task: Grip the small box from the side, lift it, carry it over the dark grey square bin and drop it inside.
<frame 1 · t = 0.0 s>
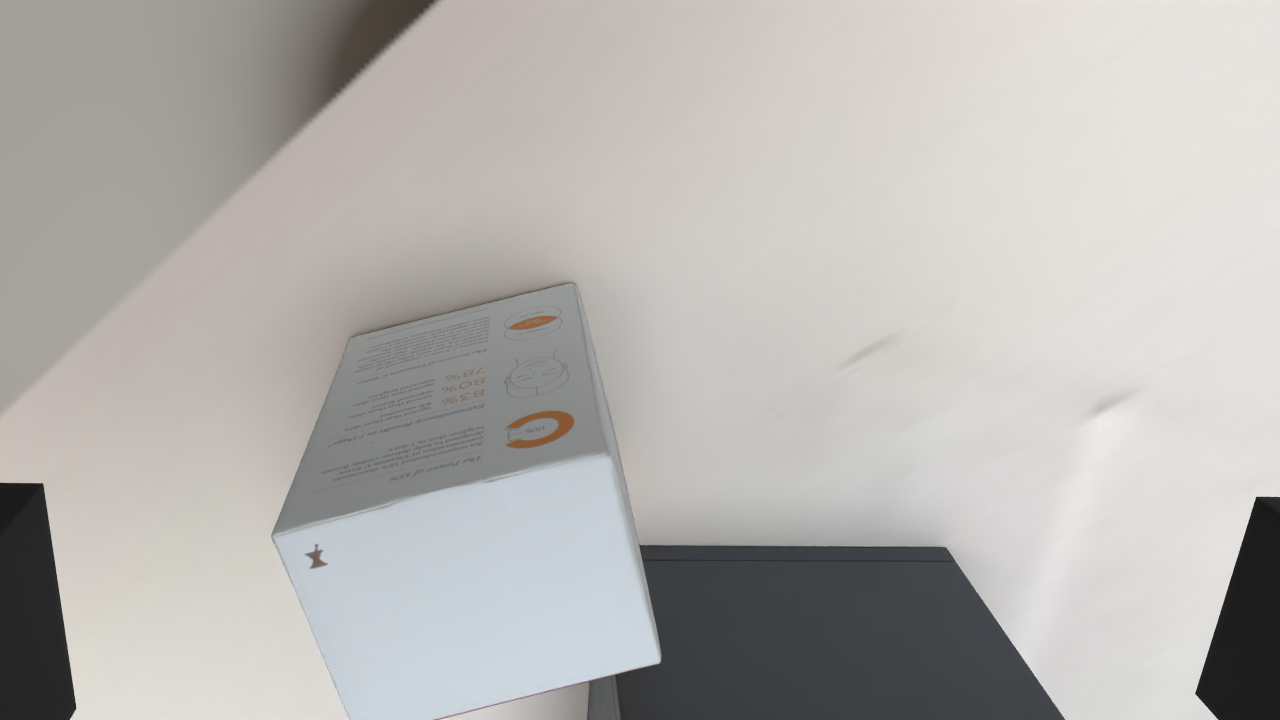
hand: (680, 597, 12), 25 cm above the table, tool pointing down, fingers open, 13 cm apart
dark grey square bin: (756, 692, 44), on the table
small box: (488, 387, 38), on the table
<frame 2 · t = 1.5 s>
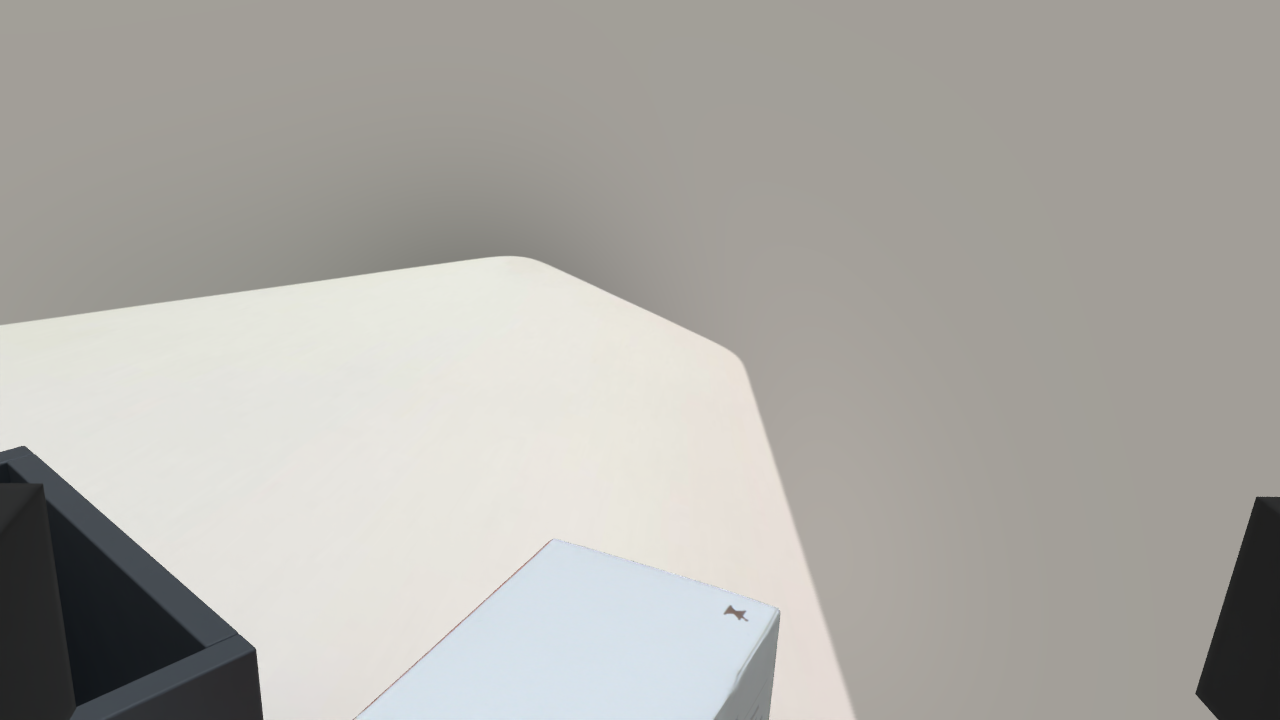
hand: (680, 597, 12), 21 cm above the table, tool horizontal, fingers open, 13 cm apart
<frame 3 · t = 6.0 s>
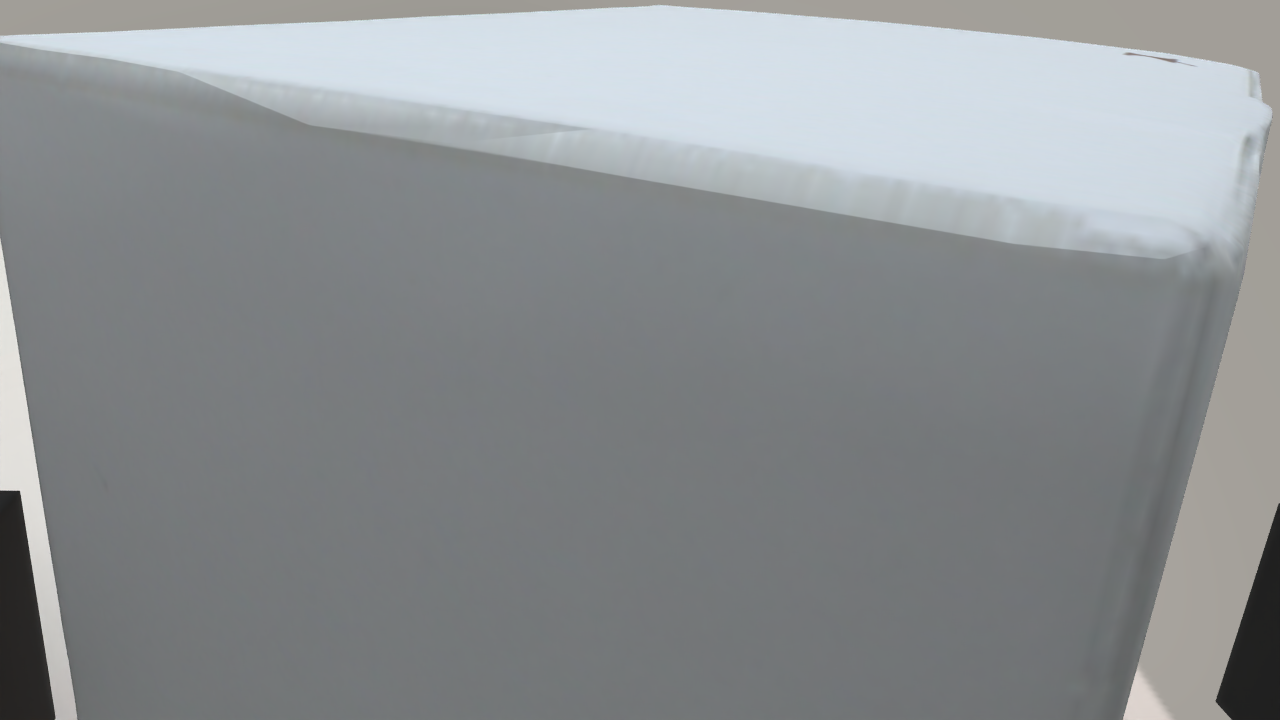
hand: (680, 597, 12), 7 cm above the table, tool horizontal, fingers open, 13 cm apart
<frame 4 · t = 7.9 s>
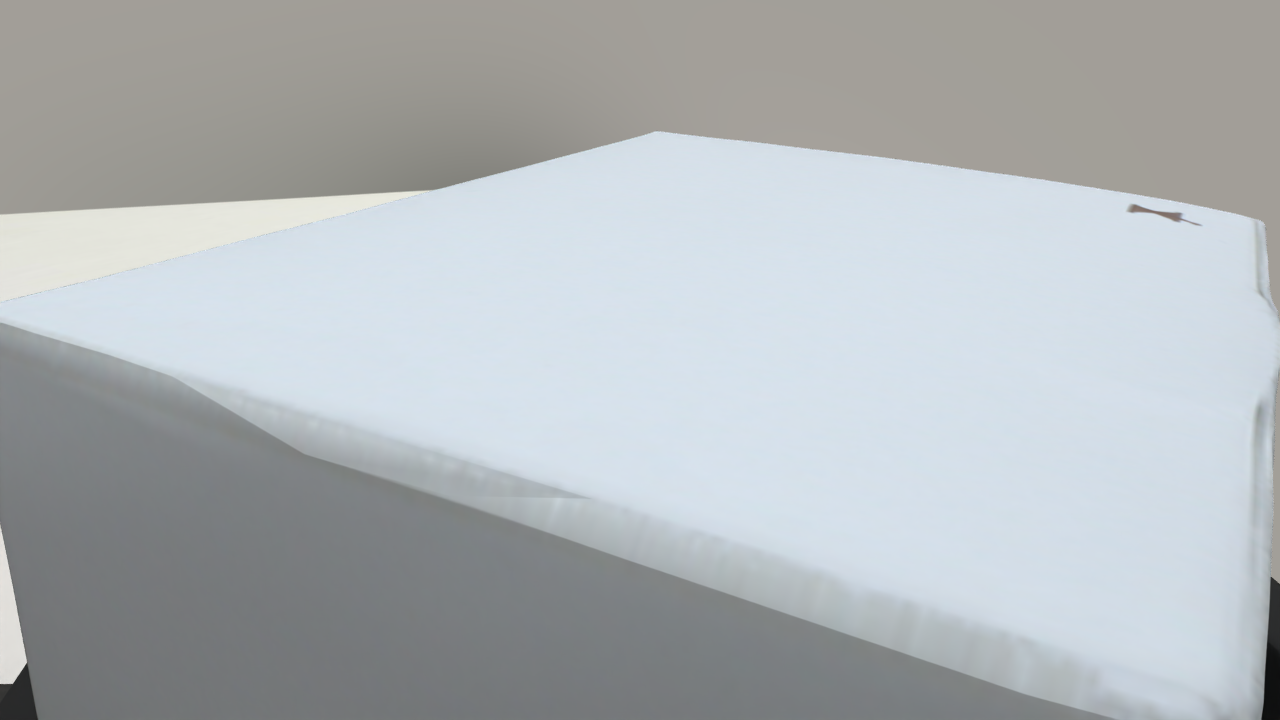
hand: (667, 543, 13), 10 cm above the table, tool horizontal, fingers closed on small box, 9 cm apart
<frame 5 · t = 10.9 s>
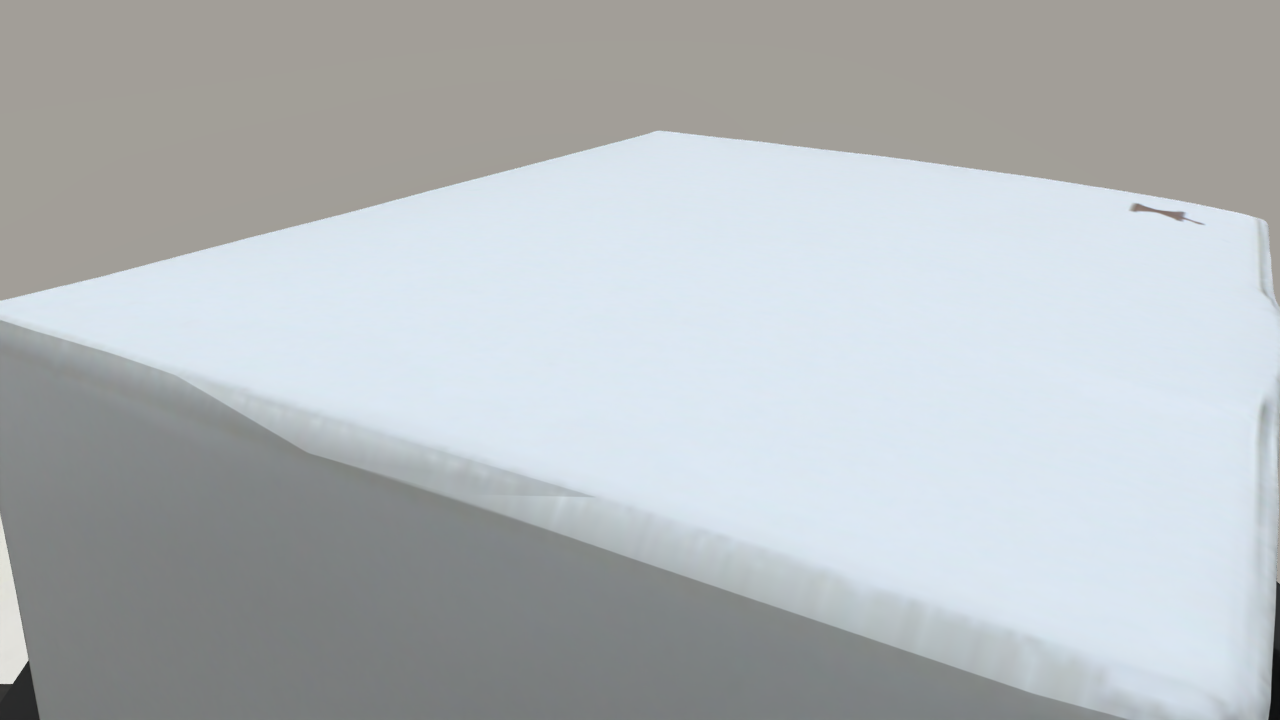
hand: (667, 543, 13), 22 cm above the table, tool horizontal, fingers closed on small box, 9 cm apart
when the fingers open (18 cm above the table, at t = 13.8 s): small box drops 9 cm, resting on dark grey square bin.
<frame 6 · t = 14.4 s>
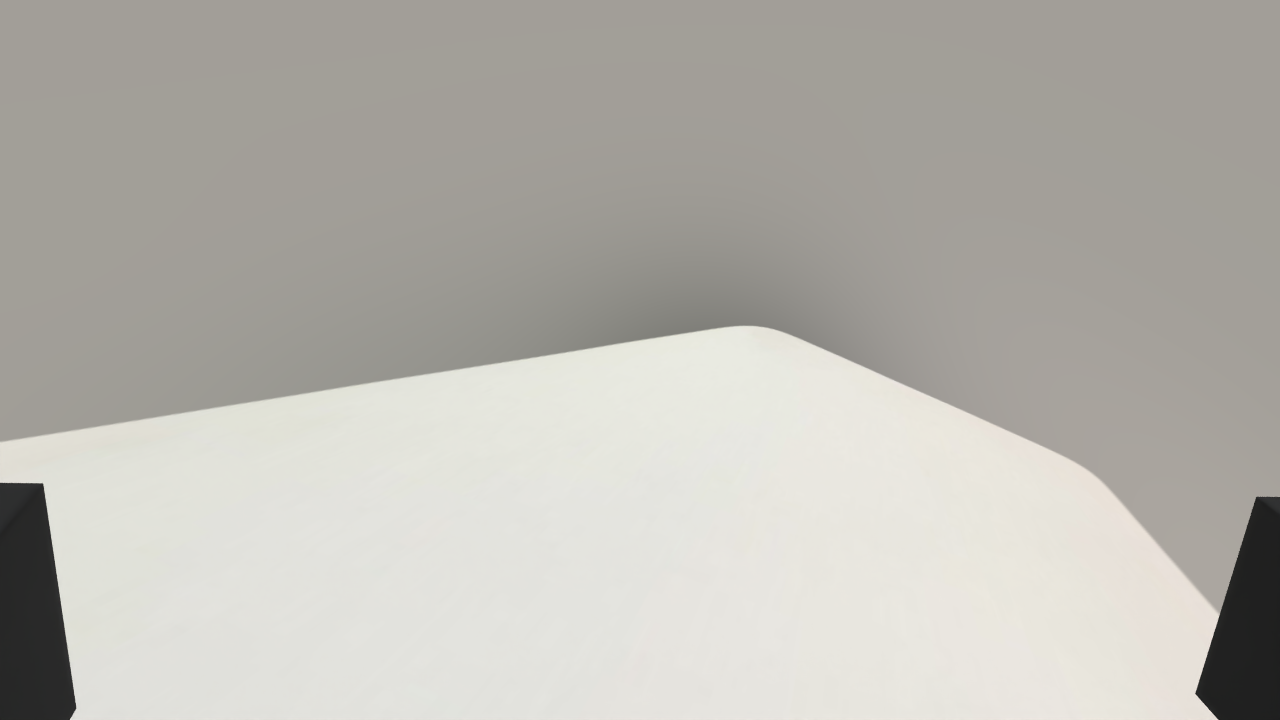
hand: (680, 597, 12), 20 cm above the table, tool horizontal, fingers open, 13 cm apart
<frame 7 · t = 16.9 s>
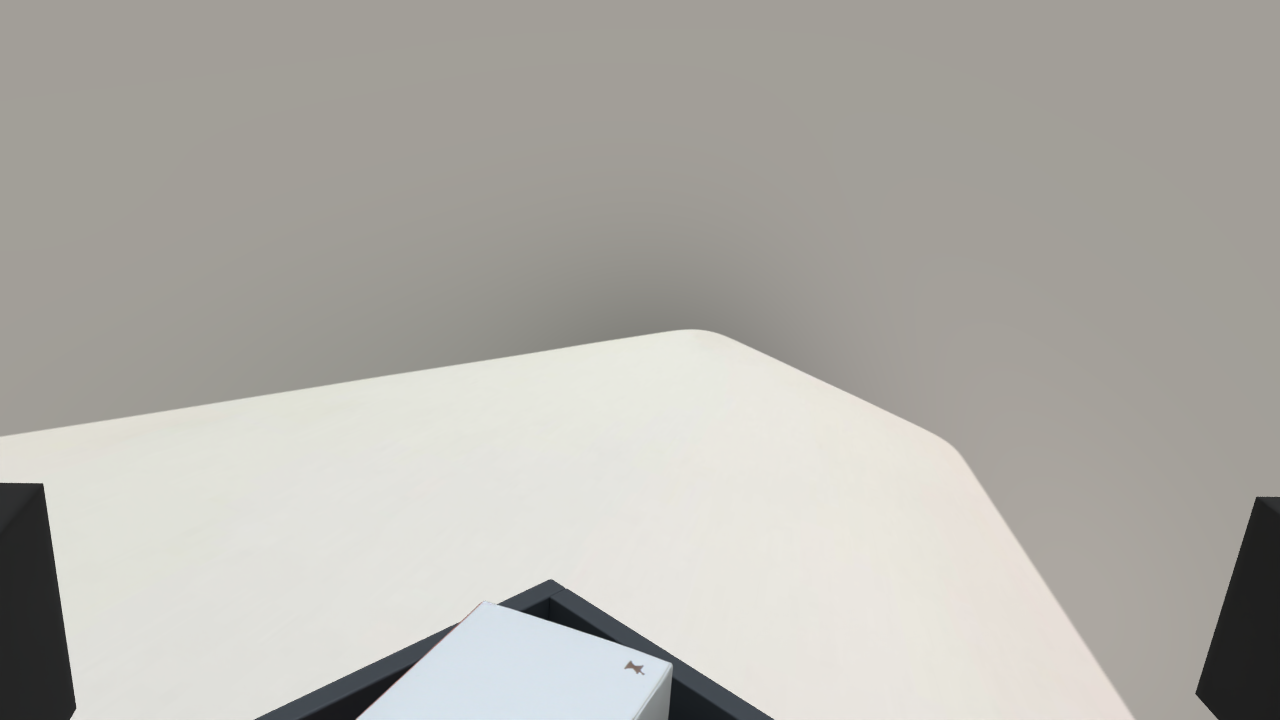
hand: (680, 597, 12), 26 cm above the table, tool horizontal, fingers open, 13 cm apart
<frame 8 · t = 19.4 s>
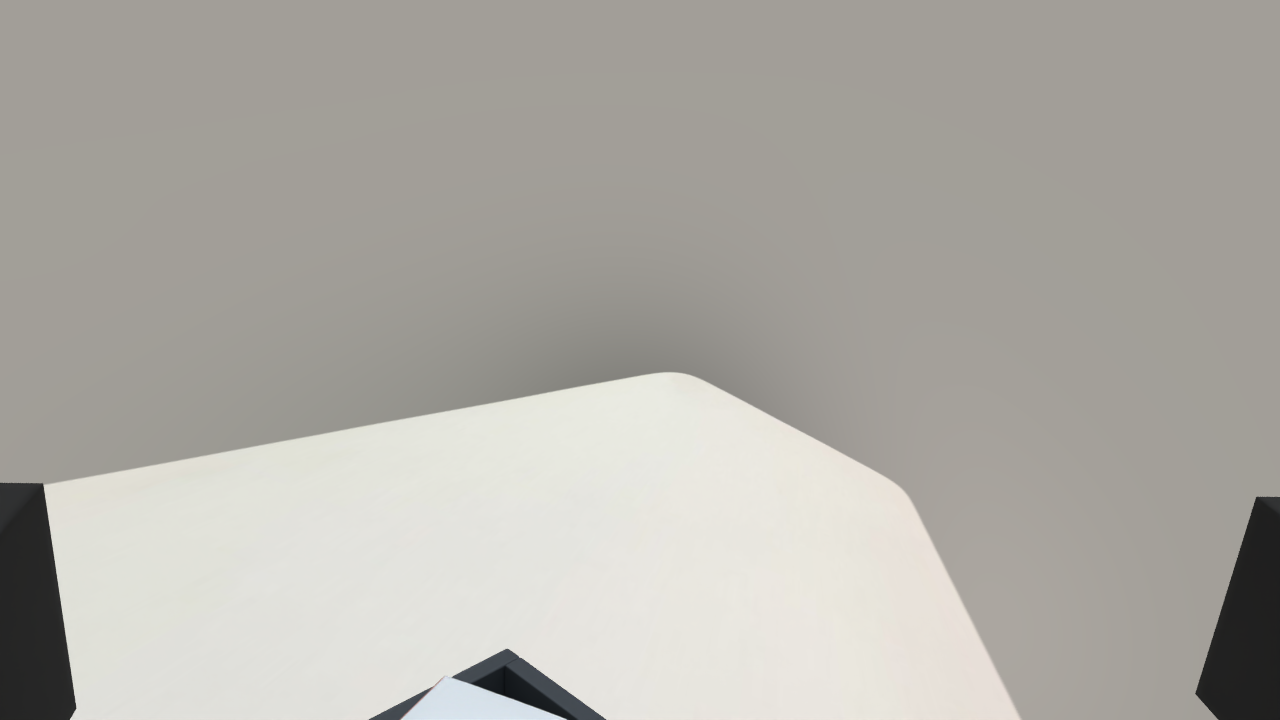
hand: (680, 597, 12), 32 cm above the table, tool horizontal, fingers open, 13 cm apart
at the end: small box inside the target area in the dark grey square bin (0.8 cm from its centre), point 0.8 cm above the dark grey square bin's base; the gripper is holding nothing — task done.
